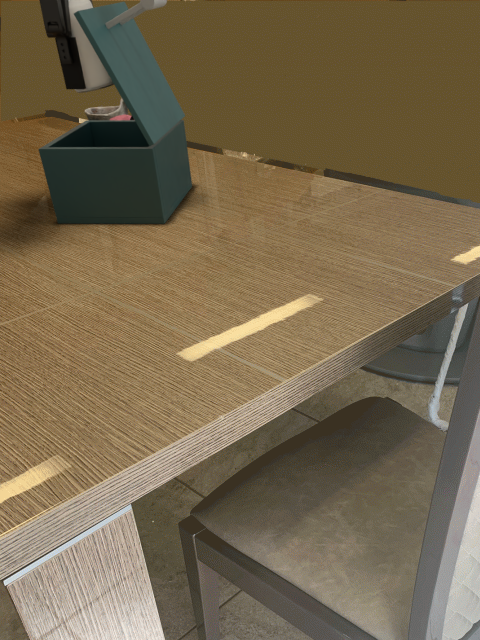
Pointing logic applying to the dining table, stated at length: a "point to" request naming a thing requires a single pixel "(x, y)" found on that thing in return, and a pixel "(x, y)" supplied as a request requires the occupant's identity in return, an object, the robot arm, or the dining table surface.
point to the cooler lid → (132, 65)
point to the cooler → (116, 173)
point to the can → (87, 52)
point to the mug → (106, 112)
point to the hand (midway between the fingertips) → (84, 84)
